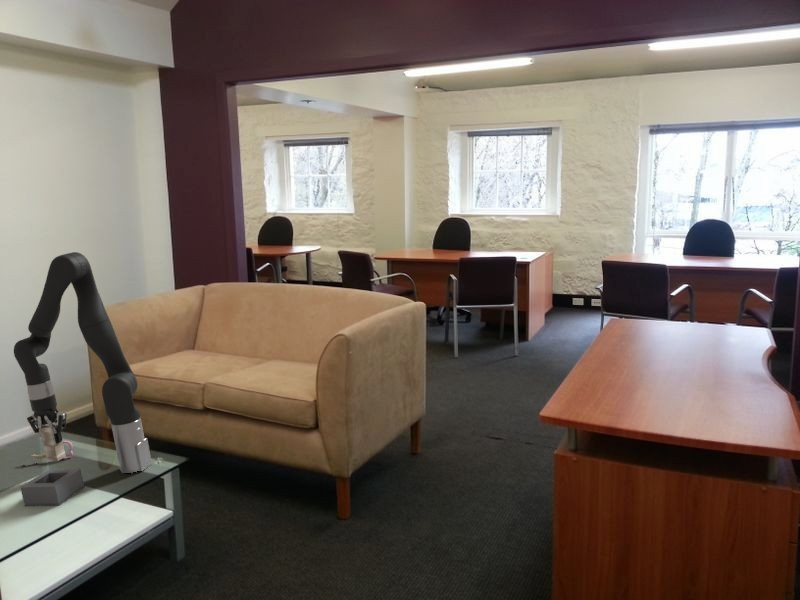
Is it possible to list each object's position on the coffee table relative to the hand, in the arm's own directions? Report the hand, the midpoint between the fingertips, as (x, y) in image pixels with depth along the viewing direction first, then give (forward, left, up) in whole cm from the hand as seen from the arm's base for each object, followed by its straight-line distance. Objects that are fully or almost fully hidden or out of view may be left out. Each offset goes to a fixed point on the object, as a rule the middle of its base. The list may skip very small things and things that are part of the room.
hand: (52, 442), depth 217 cm
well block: (-11, +16, -11) cm, 23 cm away
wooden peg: (0, 0, -6) cm, 6 cm away
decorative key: (+14, -11, -12) cm, 21 cm away
